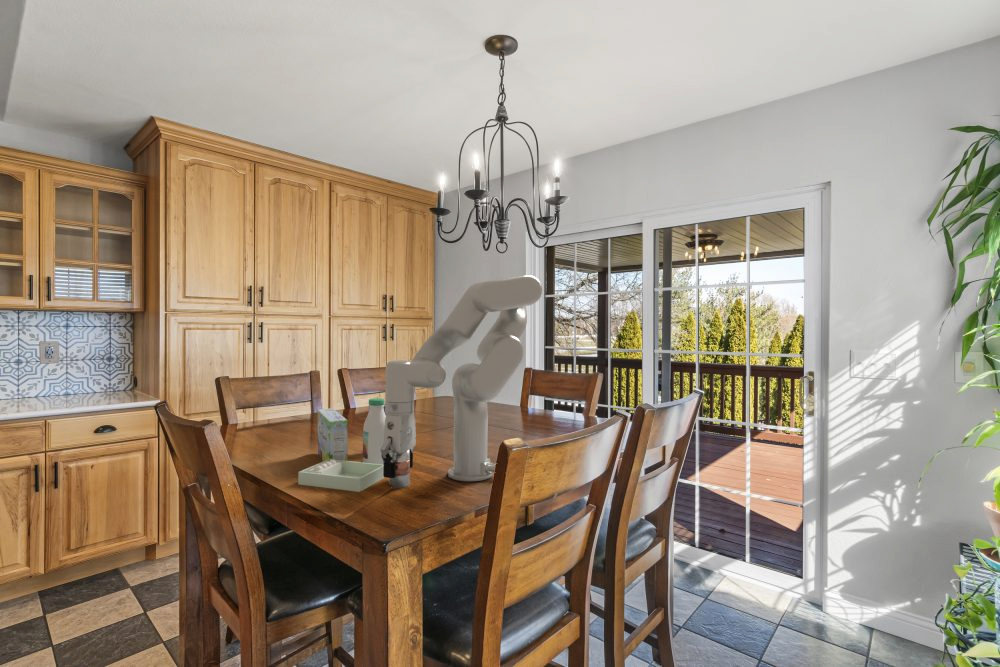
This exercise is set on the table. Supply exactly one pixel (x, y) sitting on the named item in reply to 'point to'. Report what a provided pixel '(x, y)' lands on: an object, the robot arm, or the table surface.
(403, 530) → the table surface
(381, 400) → the milk bottle
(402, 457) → the tin can
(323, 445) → the snack box
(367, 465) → the pale green tray
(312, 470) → the egg carton
